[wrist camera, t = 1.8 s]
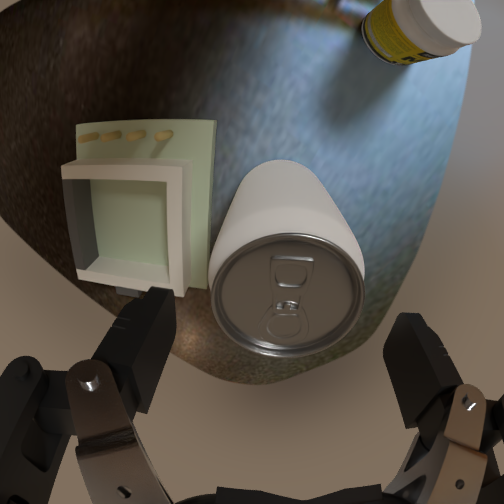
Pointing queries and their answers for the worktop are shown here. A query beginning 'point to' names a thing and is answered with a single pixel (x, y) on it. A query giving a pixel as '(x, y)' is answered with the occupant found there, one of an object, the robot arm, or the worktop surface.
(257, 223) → the can
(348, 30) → the worktop surface
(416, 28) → the supplement bottle
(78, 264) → the socket board
